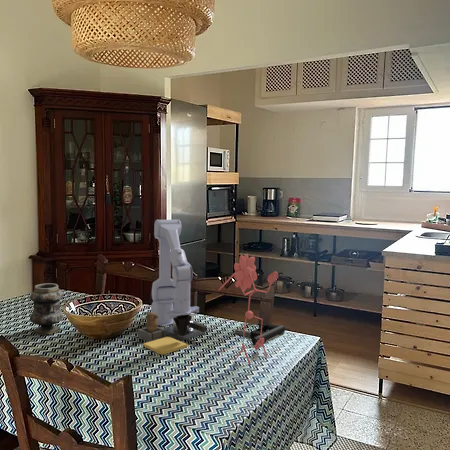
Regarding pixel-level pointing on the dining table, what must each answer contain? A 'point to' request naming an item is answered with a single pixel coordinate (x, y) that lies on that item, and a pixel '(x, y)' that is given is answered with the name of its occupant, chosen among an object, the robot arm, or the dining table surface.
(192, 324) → the lidded saucepan
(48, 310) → the apothecary jar
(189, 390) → the dining table surface
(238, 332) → the door handle
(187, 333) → the chuck stand
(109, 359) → the dining table surface
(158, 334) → the socket
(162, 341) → the mat
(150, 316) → the brown upright block
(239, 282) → the pink stick man
